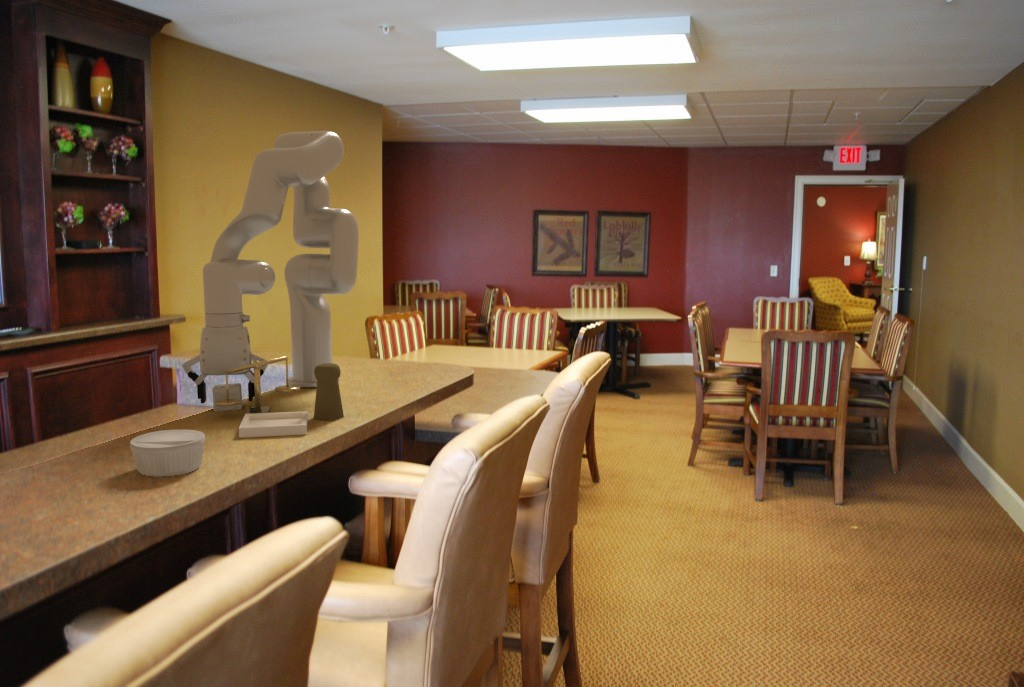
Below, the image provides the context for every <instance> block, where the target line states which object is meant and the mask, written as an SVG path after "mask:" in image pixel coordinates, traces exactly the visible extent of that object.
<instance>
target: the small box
mask: <svg viewBox="0 0 1024 687" xmlns="http://www.w3.org/2000/svg"><path fill="white" fill-rule="evenodd" d="M228 393H229V399H239V400H241V403H240V404H238V405H232V406H217V405H215V401H218V400H223V399H227V395H226V383H222V384H221V383H219V384H213V387H212V403H213V404H212V405H213V412H226V411H227V412H229V411H241V410H242V408H243V392H242V384H241V382H239V383H238V382H237V383H228Z"/></svg>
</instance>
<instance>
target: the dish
mask: <svg viewBox="0 0 1024 687" xmlns="http://www.w3.org/2000/svg"><path fill="white" fill-rule="evenodd" d="M308 425H309V411H307V410H306V411H305V410H304V411H284V412H282V411H281V412H270V413H254V414H247V413H245V414H244V416H243V418H242V420H241V422H240V425H239V426H238V438H242V439H243V438H259V437H260V438H261V437H262V438H263V437H278V436H283V437H285V436H286V437H287V436H301V435H302V436H304V435H305V436H306V435H307V433H308Z"/></svg>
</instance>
